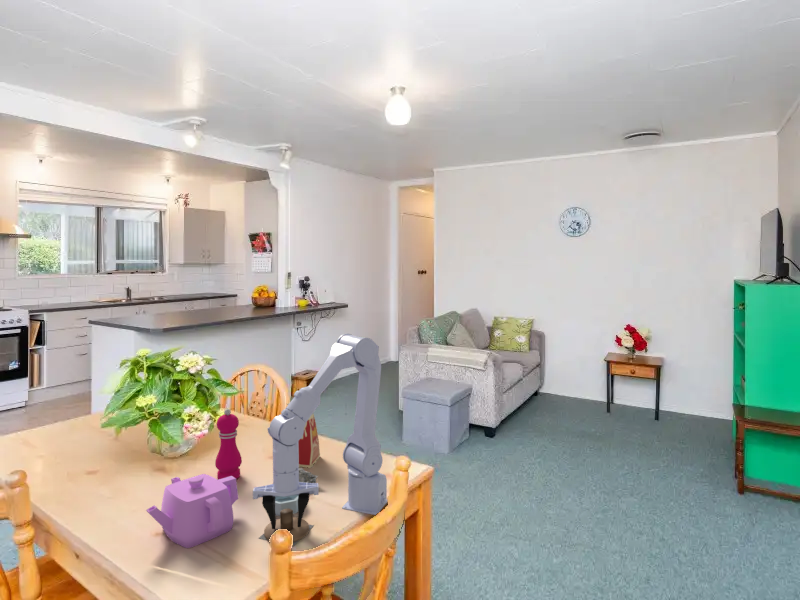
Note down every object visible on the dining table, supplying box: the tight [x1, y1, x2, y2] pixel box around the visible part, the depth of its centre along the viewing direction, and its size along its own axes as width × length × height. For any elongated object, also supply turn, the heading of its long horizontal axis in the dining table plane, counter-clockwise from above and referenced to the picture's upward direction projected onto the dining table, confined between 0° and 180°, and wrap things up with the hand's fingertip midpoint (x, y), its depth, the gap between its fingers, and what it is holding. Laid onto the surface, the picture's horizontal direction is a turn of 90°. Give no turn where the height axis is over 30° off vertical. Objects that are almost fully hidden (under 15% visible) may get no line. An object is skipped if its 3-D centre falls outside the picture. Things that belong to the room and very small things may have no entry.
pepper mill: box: [214, 408, 243, 480], centre depth 142 cm, size 7×7×20 cm
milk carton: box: [286, 402, 321, 469], centre depth 153 cm, size 9×9×20 cm
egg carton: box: [299, 467, 319, 483], centre depth 137 cm, size 11×8×4 cm
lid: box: [263, 509, 310, 542], centre depth 113 cm, size 10×10×5 cm
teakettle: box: [145, 473, 239, 549], centre depth 114 cm, size 17×17×12 cm
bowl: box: [275, 495, 298, 517], centre depth 125 cm, size 9×9×4 cm
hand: (286, 525), depth 113 cm, fingers open, 5 cm apart
